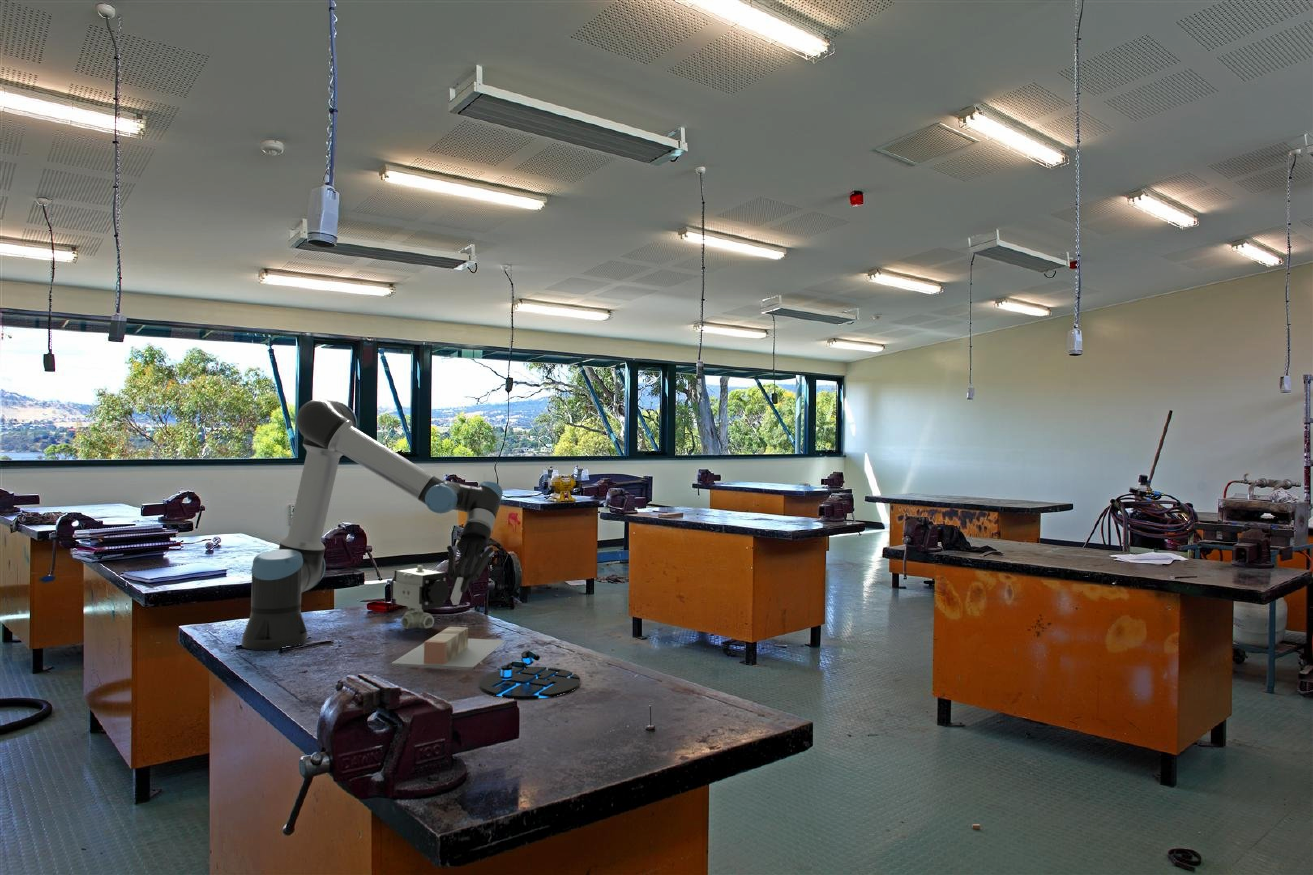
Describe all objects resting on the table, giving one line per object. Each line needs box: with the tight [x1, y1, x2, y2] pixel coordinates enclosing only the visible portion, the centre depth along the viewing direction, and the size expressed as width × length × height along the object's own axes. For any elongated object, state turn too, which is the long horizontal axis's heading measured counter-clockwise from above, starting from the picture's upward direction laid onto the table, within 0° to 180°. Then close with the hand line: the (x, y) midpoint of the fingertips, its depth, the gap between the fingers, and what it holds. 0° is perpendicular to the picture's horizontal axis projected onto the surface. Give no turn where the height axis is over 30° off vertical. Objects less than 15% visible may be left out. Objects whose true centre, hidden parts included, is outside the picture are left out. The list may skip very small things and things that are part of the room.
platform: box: [478, 649, 581, 701], centre depth 168 cm, size 22×22×6 cm
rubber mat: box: [390, 638, 506, 671], centre depth 191 cm, size 26×20×1 cm
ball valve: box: [389, 564, 450, 630], centre depth 217 cm, size 18×8×18 cm, turn 55°
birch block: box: [423, 626, 469, 664], centre depth 188 cm, size 5×5×16 cm
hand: (454, 601), depth 192 cm, fingers closed
